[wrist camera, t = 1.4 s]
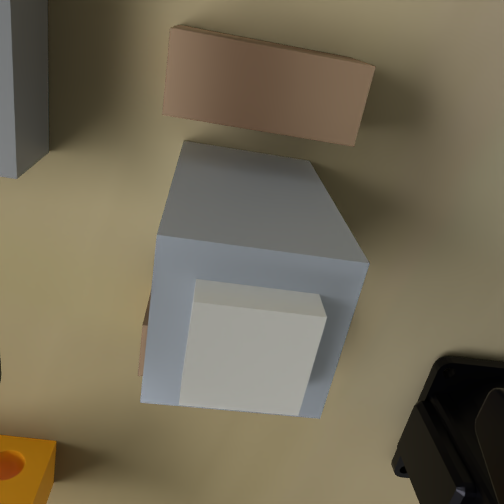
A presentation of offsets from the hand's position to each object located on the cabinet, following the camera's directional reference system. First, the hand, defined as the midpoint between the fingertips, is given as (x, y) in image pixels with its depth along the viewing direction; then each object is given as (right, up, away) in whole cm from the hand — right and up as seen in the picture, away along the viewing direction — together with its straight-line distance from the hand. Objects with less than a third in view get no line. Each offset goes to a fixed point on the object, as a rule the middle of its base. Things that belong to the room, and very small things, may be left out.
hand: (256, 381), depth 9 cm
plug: (-1, +4, +7) cm, 8 cm away
